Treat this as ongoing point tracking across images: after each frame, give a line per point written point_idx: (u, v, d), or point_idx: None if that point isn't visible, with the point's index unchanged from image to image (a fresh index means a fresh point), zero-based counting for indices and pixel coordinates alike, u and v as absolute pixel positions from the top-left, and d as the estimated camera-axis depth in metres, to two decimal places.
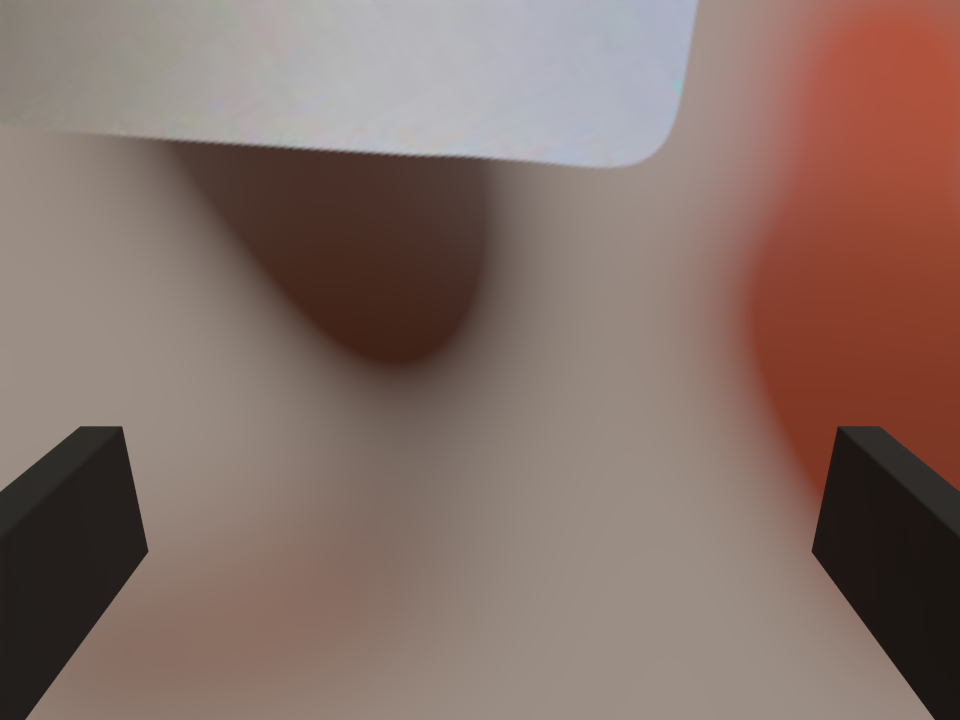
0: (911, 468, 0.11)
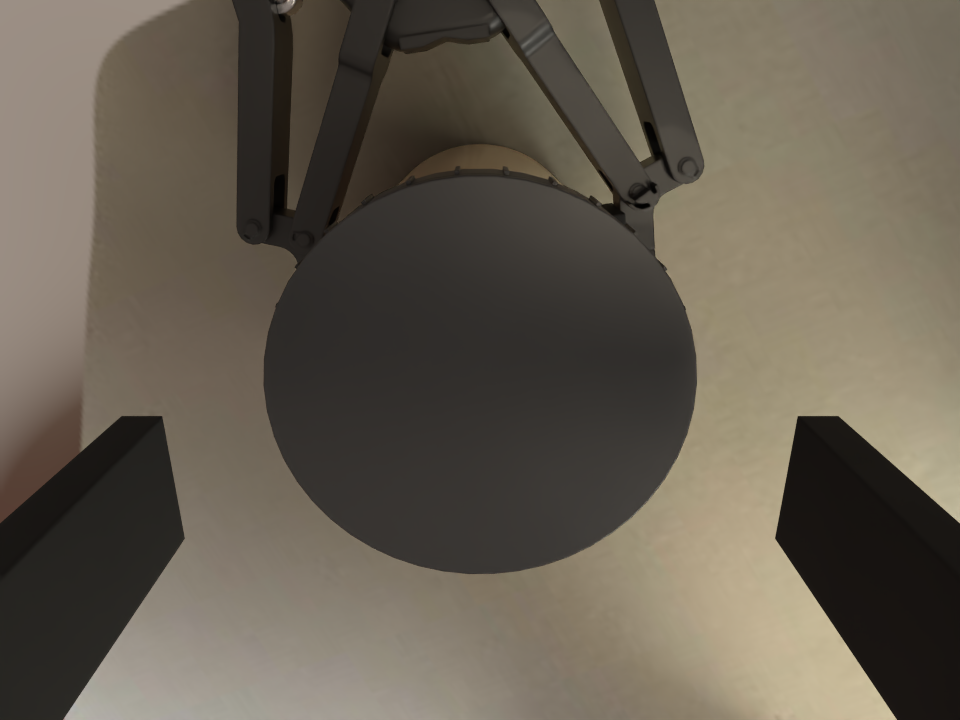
0: (865, 455, 0.11)
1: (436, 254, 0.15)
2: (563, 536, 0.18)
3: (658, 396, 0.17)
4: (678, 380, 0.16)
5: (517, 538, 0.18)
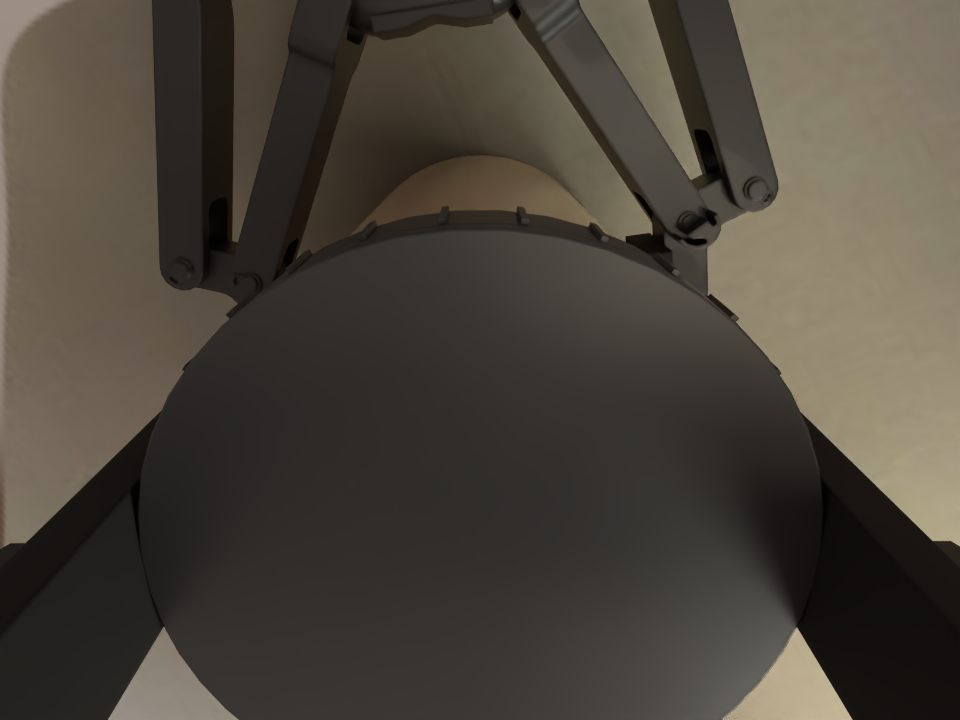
0: (815, 443, 0.12)
1: (408, 354, 0.09)
2: None
3: (760, 565, 0.11)
4: (793, 543, 0.10)
5: None
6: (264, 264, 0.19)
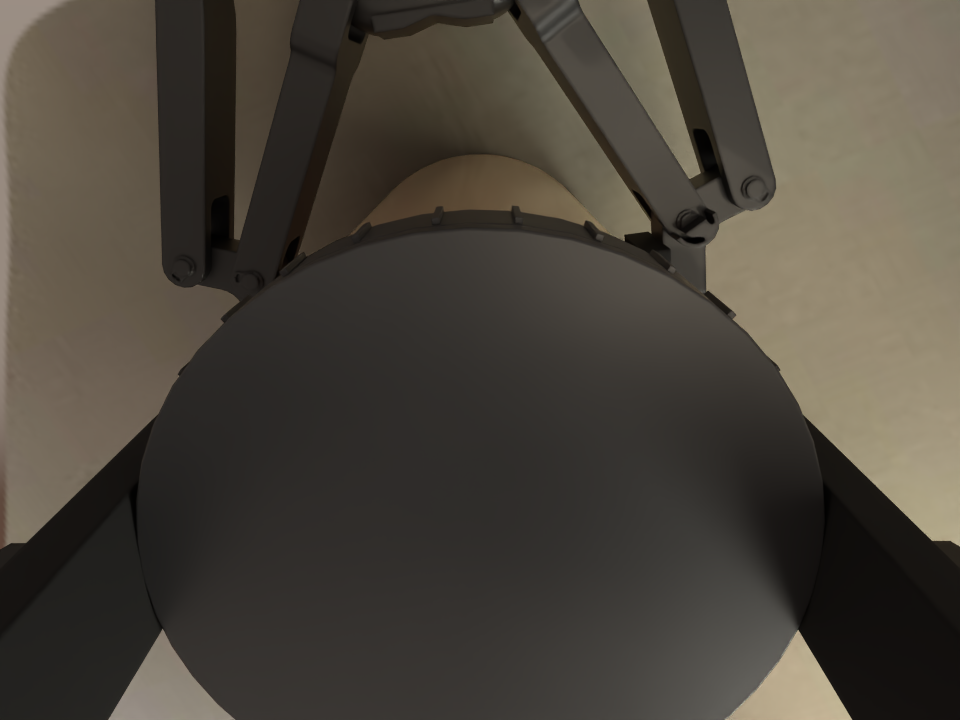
0: (814, 443, 0.12)
1: (243, 563, 0.11)
2: (780, 518, 0.10)
3: (575, 310, 0.09)
4: (555, 270, 0.09)
5: (749, 582, 0.11)
6: (265, 262, 0.19)
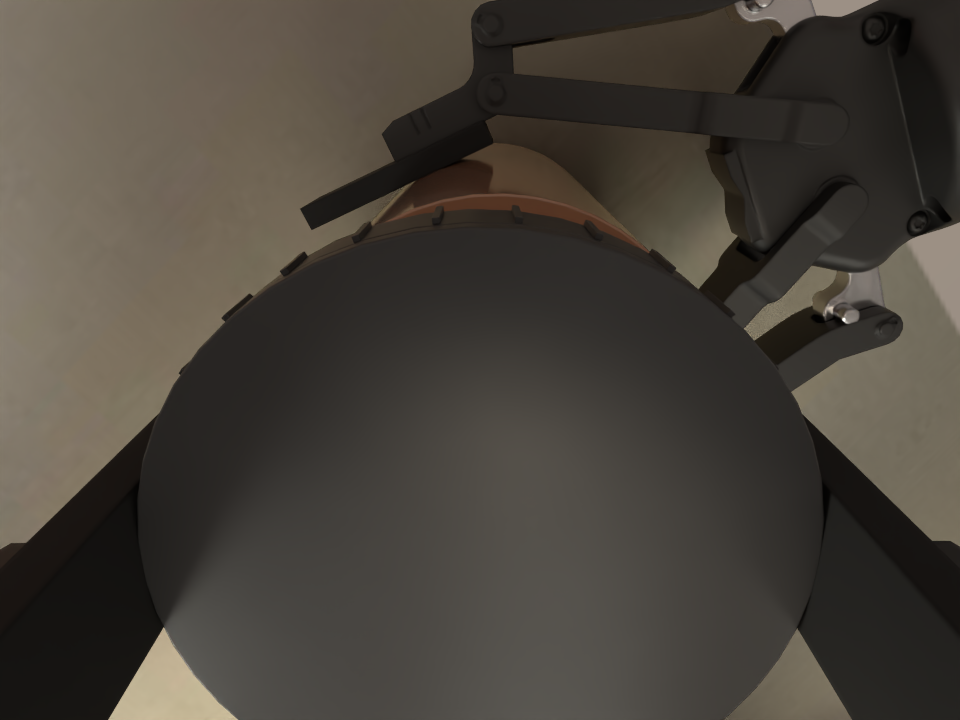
0: None
1: (243, 562, 0.11)
2: (780, 516, 0.10)
3: (574, 309, 0.09)
4: (555, 270, 0.09)
5: (749, 581, 0.11)
6: (517, 104, 0.21)
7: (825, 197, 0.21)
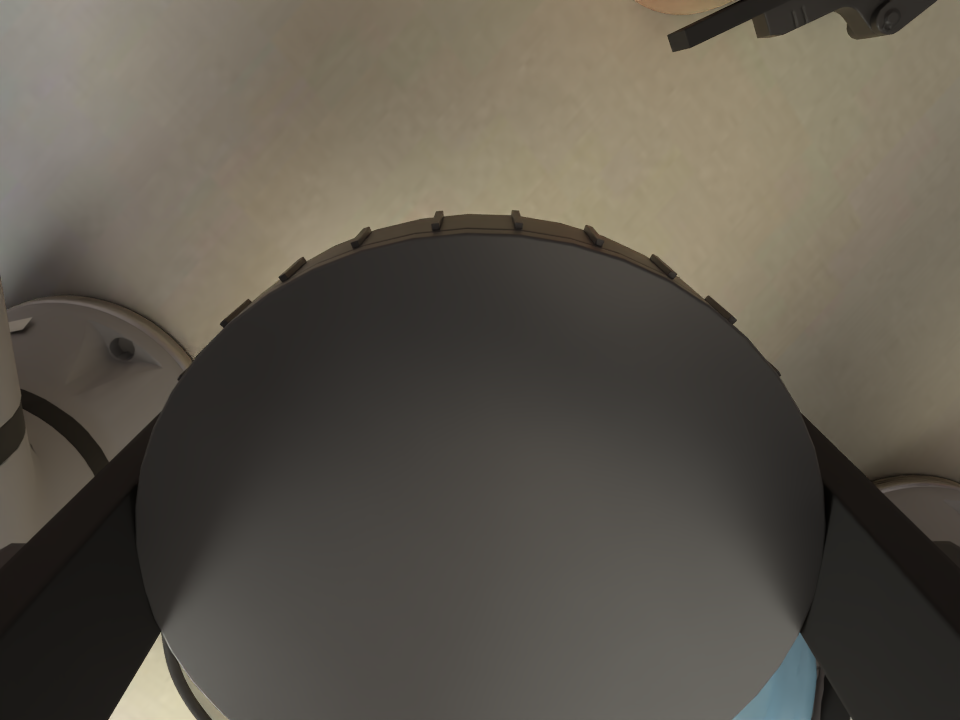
0: (814, 443, 0.12)
1: (242, 568, 0.10)
2: (781, 523, 0.10)
3: (575, 316, 0.09)
4: (555, 276, 0.09)
5: (750, 587, 0.11)
6: None
7: None
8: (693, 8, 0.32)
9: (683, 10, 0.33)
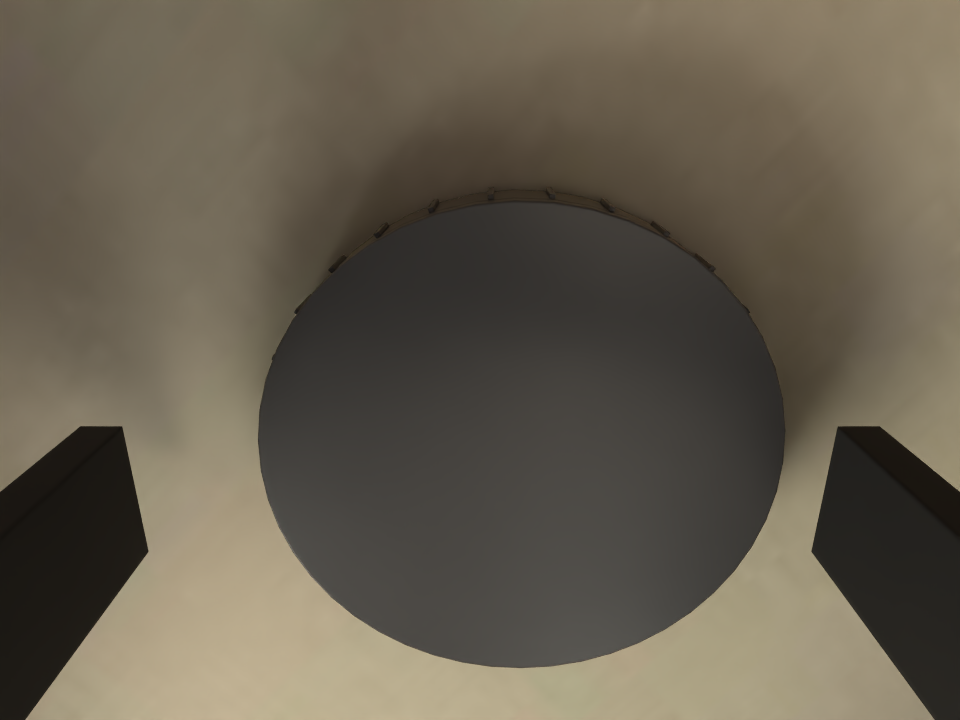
0: (911, 468, 0.11)
1: (337, 459, 0.14)
2: (750, 427, 0.13)
3: (593, 263, 0.12)
4: (579, 233, 0.12)
5: (727, 480, 0.14)
6: None
7: None
8: None
9: None
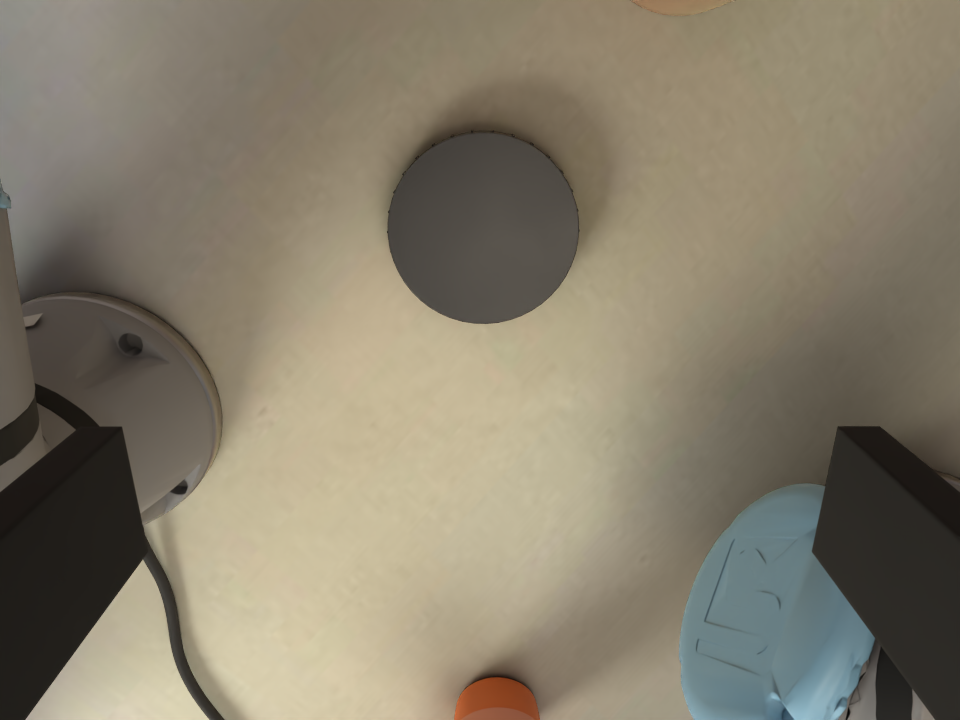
0: (912, 468, 0.11)
1: (416, 231, 0.38)
2: (565, 216, 0.37)
3: (507, 154, 0.36)
4: (501, 143, 0.36)
5: (559, 237, 0.38)
6: None
7: None
8: (690, 9, 0.33)
9: (680, 11, 0.33)
